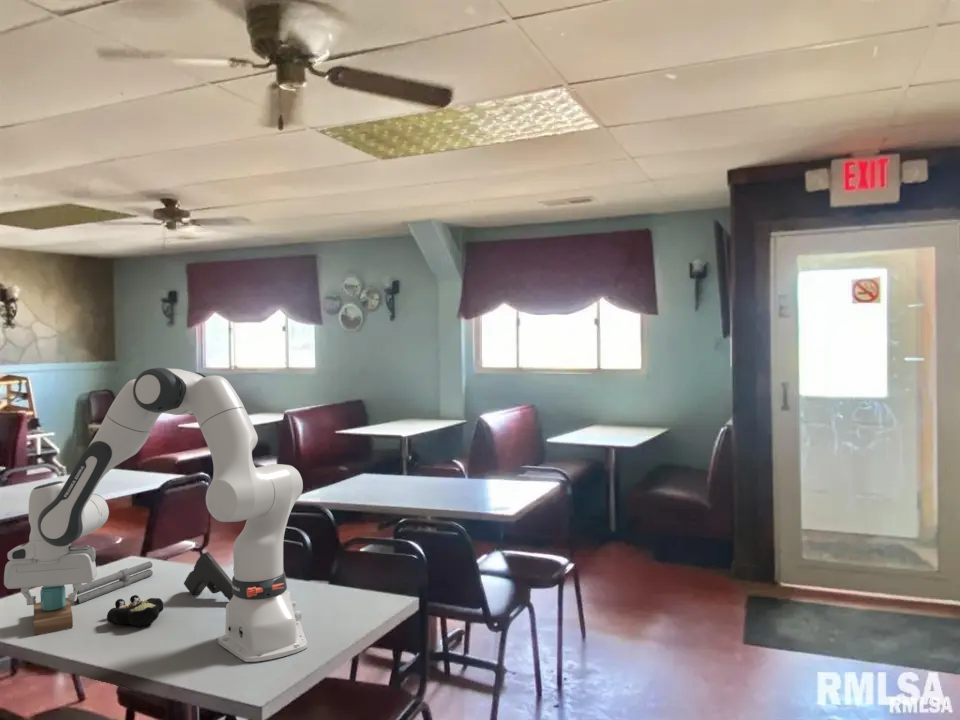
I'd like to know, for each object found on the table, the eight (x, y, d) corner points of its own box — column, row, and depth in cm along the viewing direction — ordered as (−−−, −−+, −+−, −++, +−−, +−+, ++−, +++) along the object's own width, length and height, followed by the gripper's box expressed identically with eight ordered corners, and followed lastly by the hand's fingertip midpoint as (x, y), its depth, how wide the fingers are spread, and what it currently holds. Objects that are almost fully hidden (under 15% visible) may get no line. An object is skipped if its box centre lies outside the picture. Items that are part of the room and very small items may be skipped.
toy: (150, 591, 192) (172, 586, 182) (154, 620, 191) (177, 617, 180) (98, 604, 183) (119, 600, 173) (102, 635, 182) (123, 633, 172)
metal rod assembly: (80, 605, 195) (79, 587, 195) (72, 604, 196) (72, 586, 196) (155, 576, 219) (154, 560, 219) (147, 575, 220) (147, 559, 220)
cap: (60, 601, 187) (59, 582, 187) (68, 606, 184) (67, 585, 184) (38, 607, 183) (38, 587, 183) (46, 611, 180) (45, 591, 180)
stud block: (72, 627, 178) (71, 595, 178) (34, 635, 174) (33, 601, 174) (69, 608, 192) (68, 578, 192) (33, 615, 188) (32, 584, 188)
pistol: (228, 627, 198) (246, 592, 194) (217, 631, 195) (235, 596, 191) (192, 580, 205) (208, 546, 201) (181, 584, 202) (197, 549, 198)
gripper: (99, 541, 188) (101, 594, 188) (11, 547, 184) (13, 601, 184) (91, 547, 182) (93, 603, 182) (-1, 553, 178) (1, 610, 178)
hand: (52, 602), depth 183 cm, fingers open, 8 cm apart
